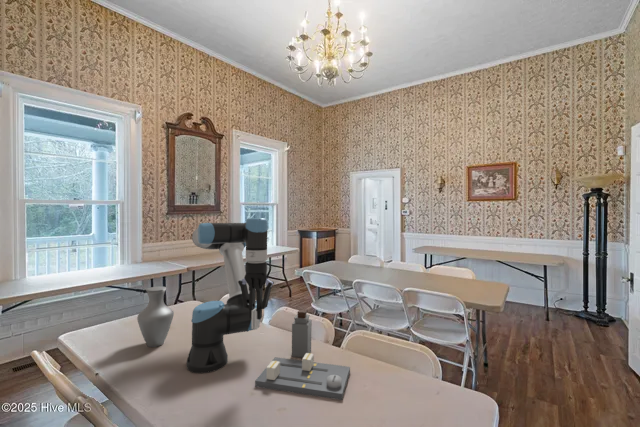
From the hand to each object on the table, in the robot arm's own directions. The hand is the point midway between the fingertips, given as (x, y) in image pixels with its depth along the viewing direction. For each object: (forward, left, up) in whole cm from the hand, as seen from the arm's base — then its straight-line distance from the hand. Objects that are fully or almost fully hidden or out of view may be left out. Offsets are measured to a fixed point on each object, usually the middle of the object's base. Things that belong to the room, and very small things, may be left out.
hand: (255, 327), depth 109 cm
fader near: (+7, 0, -16) cm, 18 cm away
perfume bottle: (+10, +24, -19) cm, 32 cm away
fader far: (+17, +9, -16) cm, 25 cm away
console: (+17, +5, -18) cm, 26 cm away
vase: (-56, +16, -19) cm, 61 cm away
